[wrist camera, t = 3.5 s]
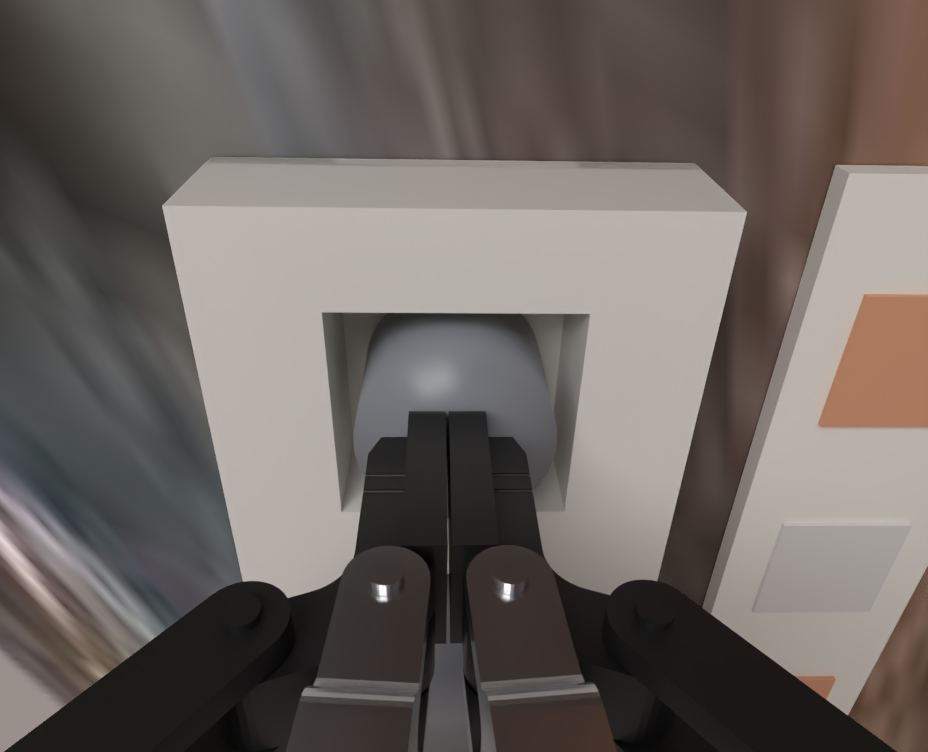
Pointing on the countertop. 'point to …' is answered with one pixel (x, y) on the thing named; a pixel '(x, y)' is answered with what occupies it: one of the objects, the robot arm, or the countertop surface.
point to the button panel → (451, 291)
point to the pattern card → (839, 447)
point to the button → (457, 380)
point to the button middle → (447, 698)
